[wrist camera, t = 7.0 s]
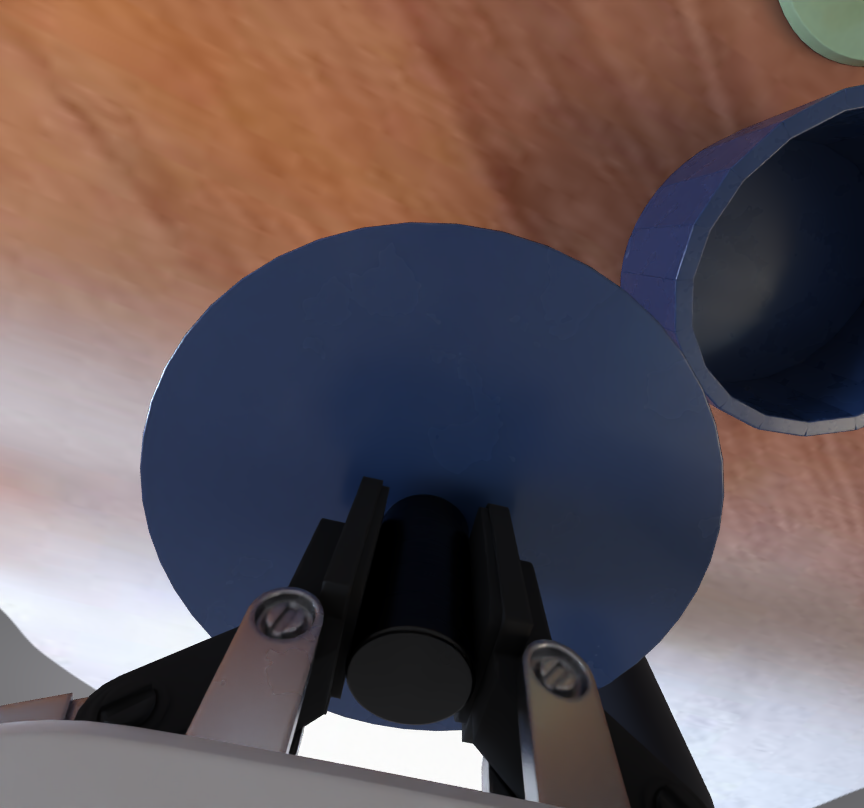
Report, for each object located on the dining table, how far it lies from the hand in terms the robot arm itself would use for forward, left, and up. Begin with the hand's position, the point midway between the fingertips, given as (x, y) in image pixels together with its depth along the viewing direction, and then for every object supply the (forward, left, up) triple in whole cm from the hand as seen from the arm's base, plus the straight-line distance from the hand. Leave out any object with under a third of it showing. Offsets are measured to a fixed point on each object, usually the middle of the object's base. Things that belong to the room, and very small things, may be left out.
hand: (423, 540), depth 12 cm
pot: (-3, +19, -18) cm, 26 cm away
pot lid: (0, 0, -1) cm, 1 cm away
